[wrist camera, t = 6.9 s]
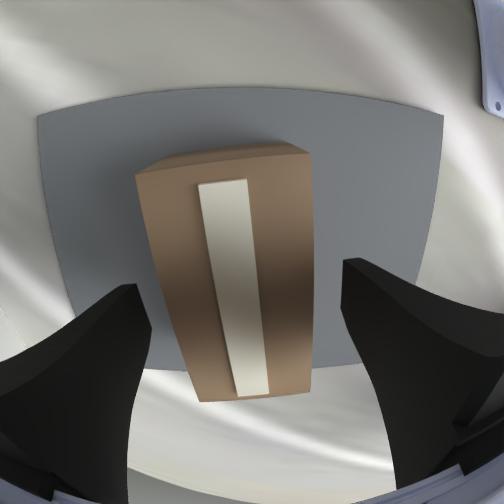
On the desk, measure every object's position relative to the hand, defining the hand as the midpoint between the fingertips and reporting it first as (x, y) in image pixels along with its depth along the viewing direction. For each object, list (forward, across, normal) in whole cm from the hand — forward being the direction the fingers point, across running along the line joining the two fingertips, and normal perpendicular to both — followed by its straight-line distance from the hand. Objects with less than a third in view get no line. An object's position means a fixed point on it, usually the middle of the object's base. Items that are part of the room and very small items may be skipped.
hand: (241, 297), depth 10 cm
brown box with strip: (+3, 0, 0) cm, 3 cm away
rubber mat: (+3, 0, 0) cm, 3 cm away
